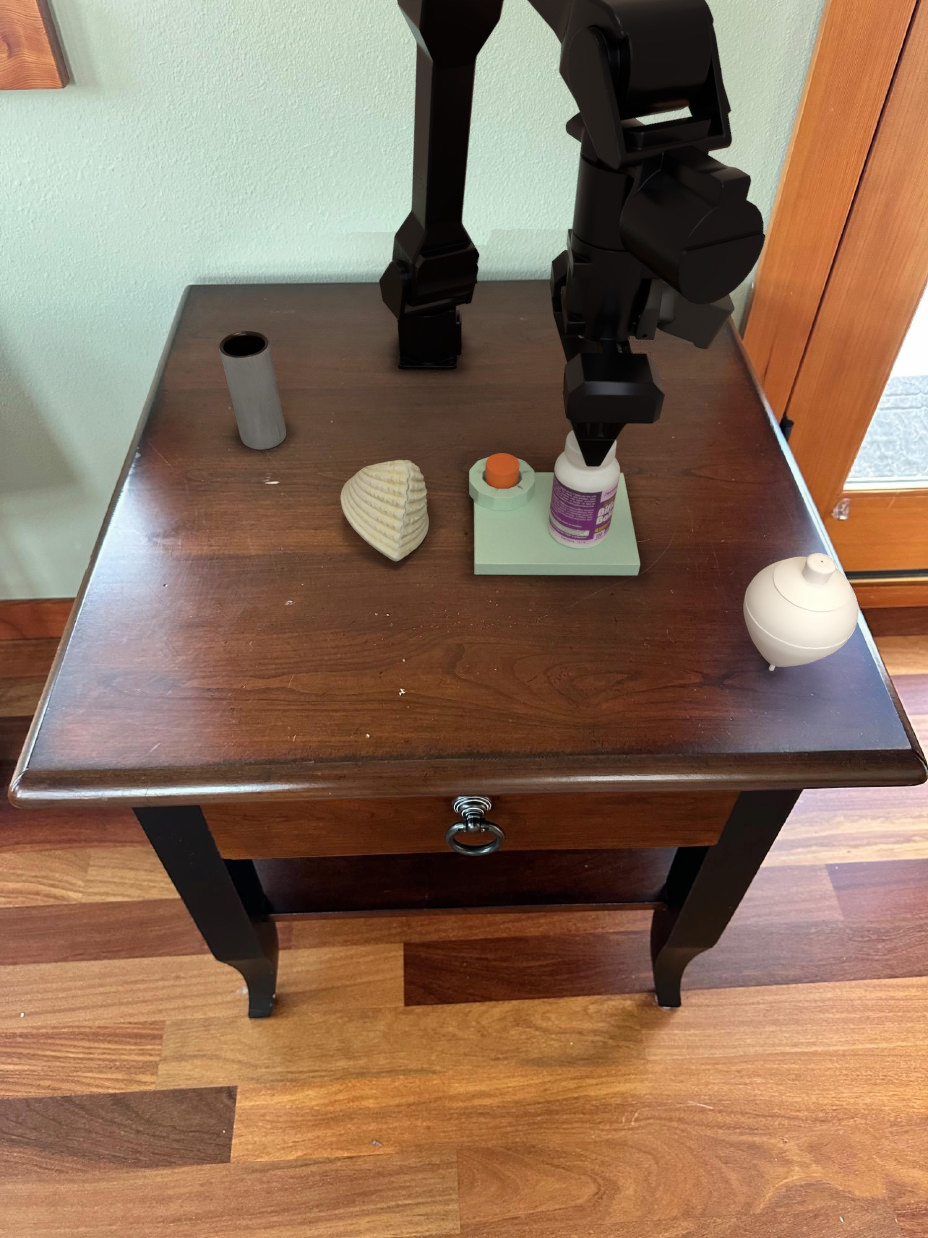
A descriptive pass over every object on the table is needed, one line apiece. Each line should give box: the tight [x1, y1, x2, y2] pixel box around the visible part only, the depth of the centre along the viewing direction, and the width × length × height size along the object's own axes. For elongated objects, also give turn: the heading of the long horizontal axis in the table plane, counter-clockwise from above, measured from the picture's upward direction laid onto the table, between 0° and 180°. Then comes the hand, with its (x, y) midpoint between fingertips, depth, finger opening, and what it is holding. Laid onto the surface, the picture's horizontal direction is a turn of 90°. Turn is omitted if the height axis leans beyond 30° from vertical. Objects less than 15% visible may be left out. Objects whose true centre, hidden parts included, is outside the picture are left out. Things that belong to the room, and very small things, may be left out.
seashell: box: [340, 459, 430, 562], centre depth 73 cm, size 8×8×8 cm
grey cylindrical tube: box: [218, 330, 287, 450], centre depth 80 cm, size 4×4×10 cm
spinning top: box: [742, 552, 860, 672], centre depth 60 cm, size 8×8×12 cm
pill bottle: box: [548, 429, 621, 549], centre depth 69 cm, size 5×5×10 cm
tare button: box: [485, 452, 519, 489], centre depth 75 cm, size 3×3×2 cm
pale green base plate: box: [468, 456, 641, 576], centre depth 74 cm, size 14×12×3 cm
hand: (587, 427), depth 66 cm, fingers open, 9 cm apart
